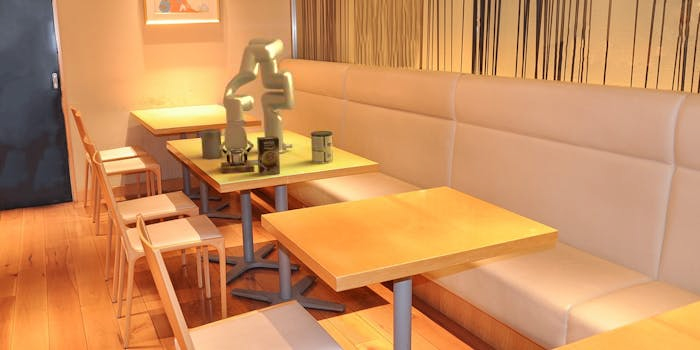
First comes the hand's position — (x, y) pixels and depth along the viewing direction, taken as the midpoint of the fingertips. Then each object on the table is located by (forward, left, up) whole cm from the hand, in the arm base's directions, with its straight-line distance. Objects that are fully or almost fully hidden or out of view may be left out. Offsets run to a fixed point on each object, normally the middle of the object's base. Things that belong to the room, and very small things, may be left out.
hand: (237, 162), depth 291 cm
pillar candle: (+10, -33, -4) cm, 35 cm away
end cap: (0, 0, -3) cm, 3 cm away
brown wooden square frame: (0, 0, -3) cm, 3 cm away
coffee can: (-41, -6, -4) cm, 42 cm away
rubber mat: (-7, -13, -3) cm, 15 cm away
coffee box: (-13, +12, -4) cm, 18 cm away
